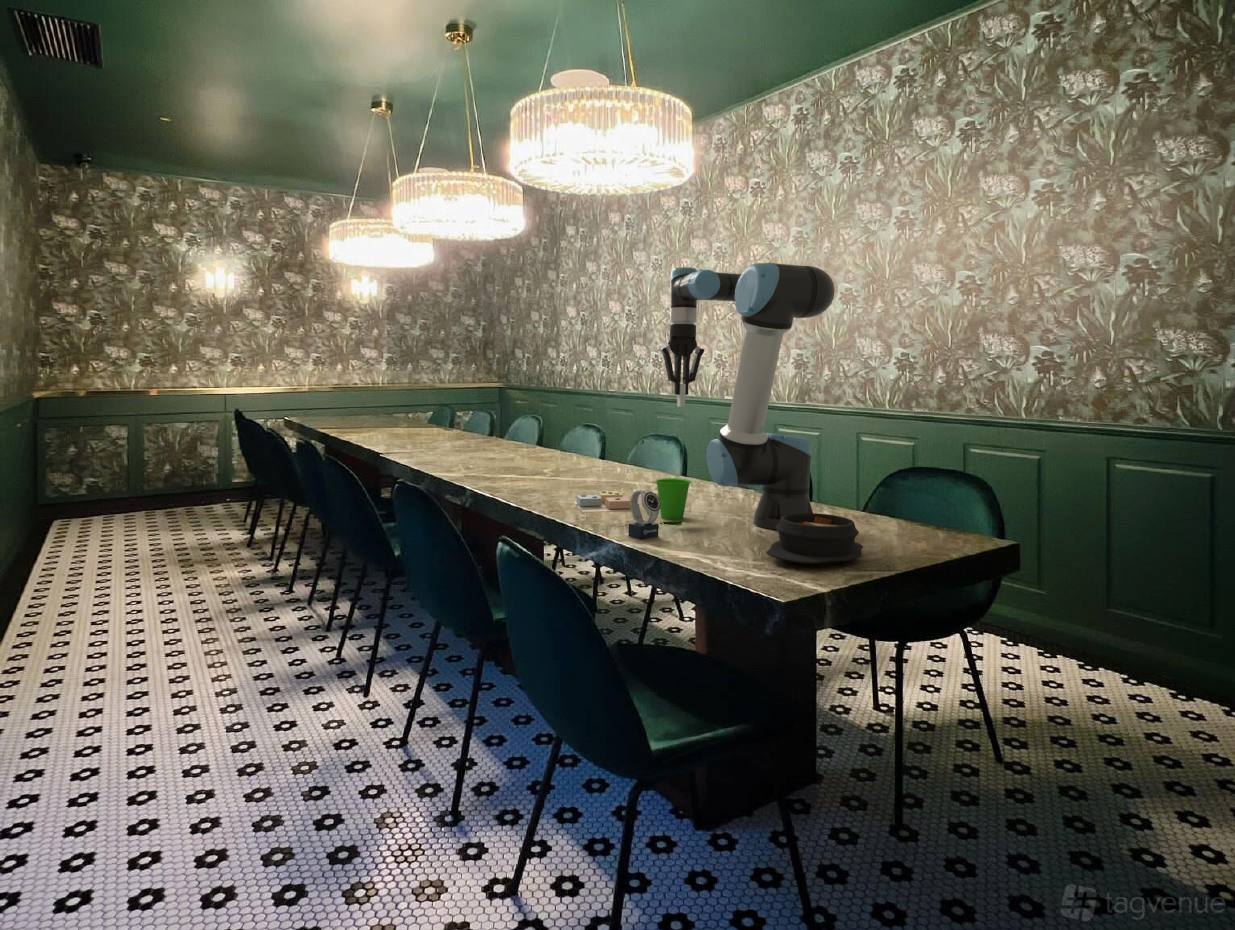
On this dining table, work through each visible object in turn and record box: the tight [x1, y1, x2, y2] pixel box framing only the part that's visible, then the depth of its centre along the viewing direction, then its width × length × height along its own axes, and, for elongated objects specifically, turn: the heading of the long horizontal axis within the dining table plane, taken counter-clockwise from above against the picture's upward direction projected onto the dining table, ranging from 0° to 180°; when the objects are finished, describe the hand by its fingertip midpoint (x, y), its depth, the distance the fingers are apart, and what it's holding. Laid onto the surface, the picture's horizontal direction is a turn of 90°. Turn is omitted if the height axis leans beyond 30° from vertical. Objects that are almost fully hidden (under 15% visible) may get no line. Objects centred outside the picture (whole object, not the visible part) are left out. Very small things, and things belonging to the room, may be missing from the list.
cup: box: [654, 477, 692, 526], centre depth 191 cm, size 9×9×11 cm
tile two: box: [576, 494, 602, 506], centre depth 207 cm, size 6×6×2 cm
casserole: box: [765, 512, 864, 565], centre depth 158 cm, size 25×19×8 cm
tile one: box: [605, 496, 631, 509], centre depth 204 cm, size 6×6×2 cm
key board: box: [571, 498, 631, 513], centre depth 208 cm, size 19×15×2 cm
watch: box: [628, 489, 661, 541], centre depth 175 cm, size 6×8×11 cm
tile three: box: [597, 490, 624, 502], centre depth 214 cm, size 6×6×2 cm
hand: (681, 406), depth 218 cm, fingers closed
